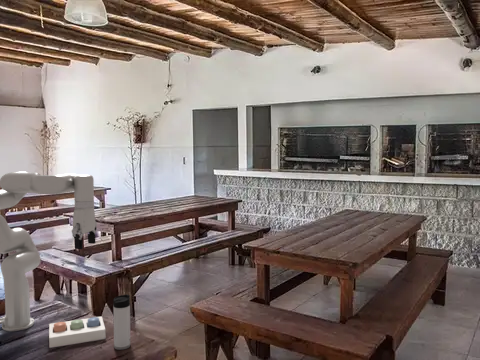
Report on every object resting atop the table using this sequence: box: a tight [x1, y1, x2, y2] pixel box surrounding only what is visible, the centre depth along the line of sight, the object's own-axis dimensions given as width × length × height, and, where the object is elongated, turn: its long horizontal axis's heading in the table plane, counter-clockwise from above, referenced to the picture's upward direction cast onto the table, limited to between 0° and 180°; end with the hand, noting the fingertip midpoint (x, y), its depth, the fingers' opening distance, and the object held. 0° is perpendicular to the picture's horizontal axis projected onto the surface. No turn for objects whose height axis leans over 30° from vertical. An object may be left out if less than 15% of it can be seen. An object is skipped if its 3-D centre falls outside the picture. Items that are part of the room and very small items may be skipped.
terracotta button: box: [54, 321, 66, 333], centre depth 178 cm, size 5×5×4 cm
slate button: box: [88, 316, 99, 327], centre depth 183 cm, size 5×5×4 cm
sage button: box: [71, 319, 83, 330], centre depth 181 cm, size 5×5×4 cm
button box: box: [48, 316, 107, 349], centre depth 181 cm, size 21×14×4 cm, turn 113°
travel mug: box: [112, 294, 131, 351], centre depth 172 cm, size 6×7×20 cm
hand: (85, 246), depth 181 cm, fingers open, 9 cm apart
